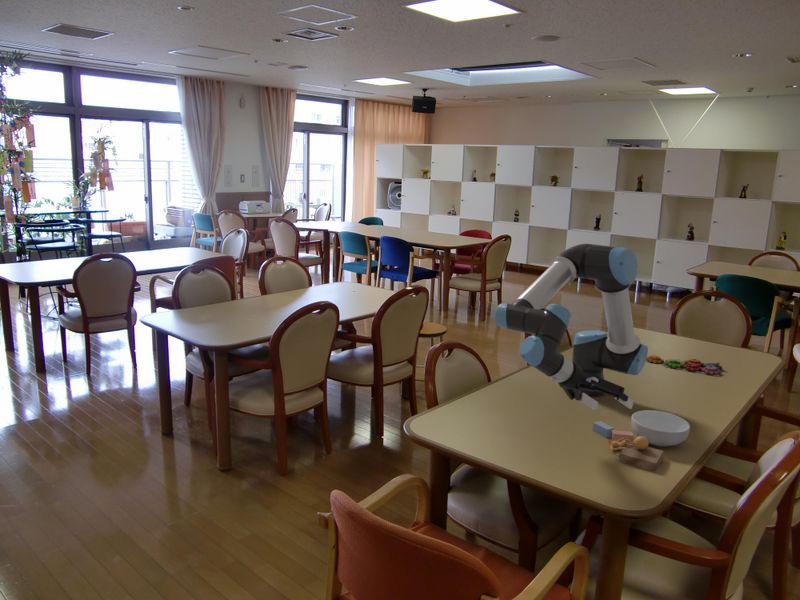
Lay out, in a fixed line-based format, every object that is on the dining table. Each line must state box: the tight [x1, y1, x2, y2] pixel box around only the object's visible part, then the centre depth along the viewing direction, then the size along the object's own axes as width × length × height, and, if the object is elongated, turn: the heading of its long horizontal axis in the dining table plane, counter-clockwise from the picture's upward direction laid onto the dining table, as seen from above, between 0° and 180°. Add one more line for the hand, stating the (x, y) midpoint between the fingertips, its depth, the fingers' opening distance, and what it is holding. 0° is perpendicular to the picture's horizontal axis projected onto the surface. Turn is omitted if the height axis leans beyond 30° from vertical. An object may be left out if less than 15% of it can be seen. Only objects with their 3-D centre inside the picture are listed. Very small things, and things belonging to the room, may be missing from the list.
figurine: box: [607, 436, 650, 451], centre depth 188 cm, size 8×6×12 cm
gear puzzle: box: [646, 354, 723, 378], centre depth 277 cm, size 31×16×4 cm, turn 59°
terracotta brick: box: [610, 429, 635, 443], centre depth 196 cm, size 6×3×3 cm, turn 79°
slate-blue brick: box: [592, 420, 615, 439], centre depth 201 cm, size 6×3×3 cm, turn 26°
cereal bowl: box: [630, 409, 691, 447], centre depth 196 cm, size 17×17×7 cm
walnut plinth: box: [618, 442, 665, 472], centre depth 183 cm, size 10×10×3 cm
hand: (613, 405), depth 189 cm, fingers open, 13 cm apart
